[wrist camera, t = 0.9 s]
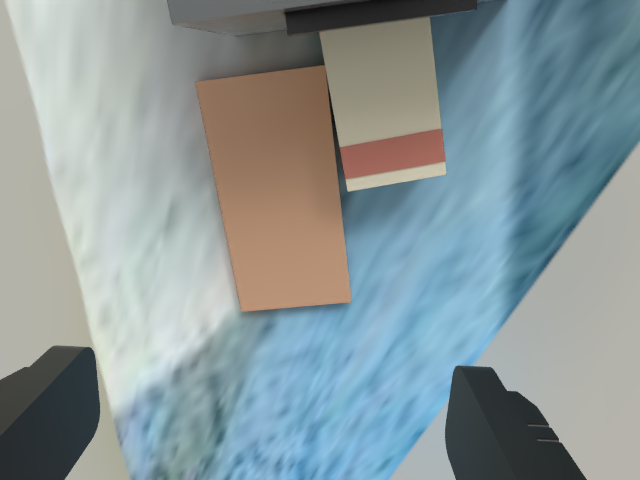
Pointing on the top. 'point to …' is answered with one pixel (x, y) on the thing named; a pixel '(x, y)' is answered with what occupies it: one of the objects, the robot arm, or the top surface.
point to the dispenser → (305, 14)
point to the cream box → (385, 102)
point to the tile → (278, 186)
